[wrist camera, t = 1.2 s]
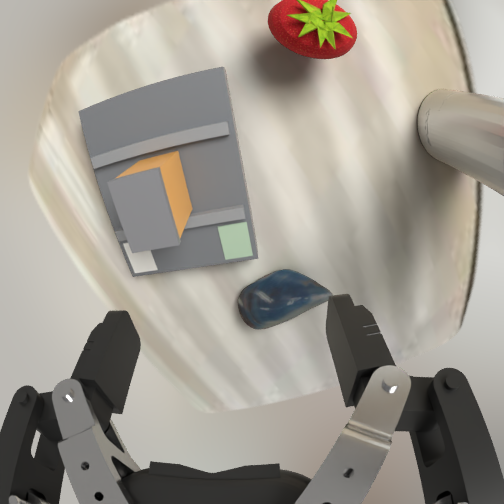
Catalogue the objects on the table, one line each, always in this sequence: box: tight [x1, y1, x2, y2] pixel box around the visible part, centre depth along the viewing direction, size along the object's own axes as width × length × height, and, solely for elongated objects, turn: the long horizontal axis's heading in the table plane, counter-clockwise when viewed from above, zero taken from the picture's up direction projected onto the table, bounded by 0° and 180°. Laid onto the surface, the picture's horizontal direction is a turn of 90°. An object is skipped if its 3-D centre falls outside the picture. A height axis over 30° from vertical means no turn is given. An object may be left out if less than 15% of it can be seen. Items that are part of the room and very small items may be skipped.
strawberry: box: [268, 0, 357, 59], centre depth 18 cm, size 6×8×10 cm
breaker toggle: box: [107, 151, 192, 253], centre depth 24 cm, size 4×6×7 cm
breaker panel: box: [79, 67, 258, 277], centre depth 28 cm, size 15×20×4 cm
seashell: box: [238, 270, 333, 329], centre depth 36 cm, size 6×9×10 cm
